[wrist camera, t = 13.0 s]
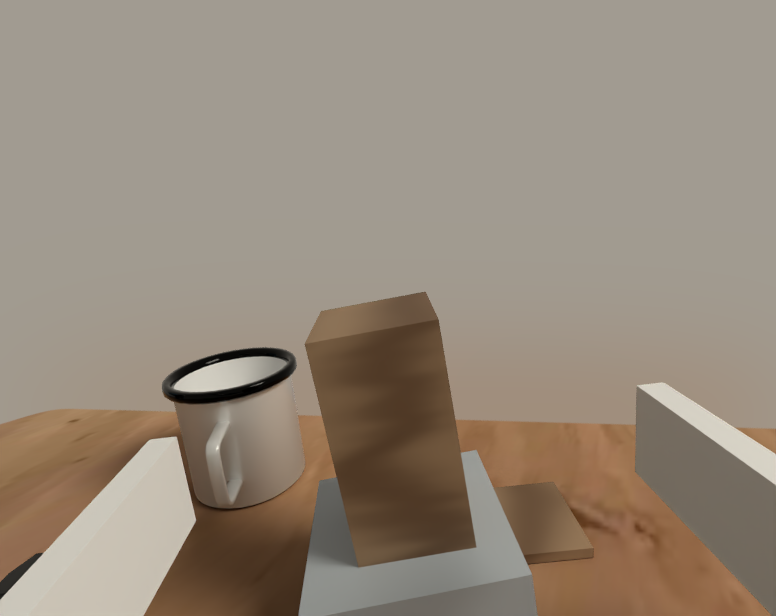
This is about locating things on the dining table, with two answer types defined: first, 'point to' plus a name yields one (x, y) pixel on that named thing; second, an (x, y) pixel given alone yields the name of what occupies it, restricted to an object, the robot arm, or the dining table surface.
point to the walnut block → (391, 428)
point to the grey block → (419, 565)
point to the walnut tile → (543, 523)
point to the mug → (238, 425)
